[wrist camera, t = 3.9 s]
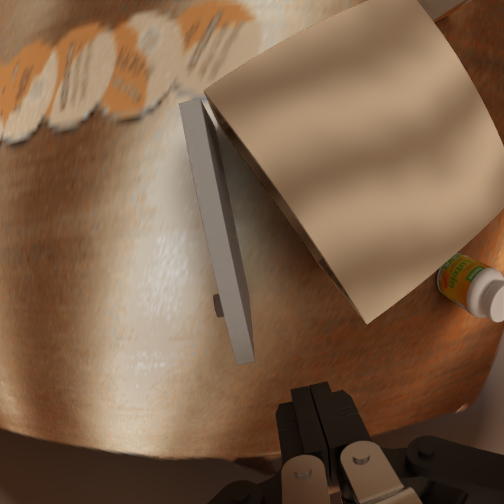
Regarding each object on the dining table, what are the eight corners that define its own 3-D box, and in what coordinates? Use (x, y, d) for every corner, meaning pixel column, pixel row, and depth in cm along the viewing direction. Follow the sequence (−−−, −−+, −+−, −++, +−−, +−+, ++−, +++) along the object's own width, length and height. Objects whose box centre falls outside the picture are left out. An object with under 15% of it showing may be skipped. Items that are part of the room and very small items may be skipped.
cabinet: (218, 124, 29) (203, 90, 16) (349, 44, 27) (405, -14, 14) (320, 267, 32) (366, 324, 20) (435, 180, 30) (519, 191, 18)
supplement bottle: (450, 244, 32) (505, 267, 23) (475, 265, 33) (526, 290, 24) (427, 284, 33) (477, 317, 24) (453, 302, 34) (501, 336, 25)
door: (189, 133, 28) (158, 108, 17) (215, 127, 28) (200, 98, 17) (225, 300, 32) (219, 368, 20) (249, 295, 32) (254, 362, 20)
